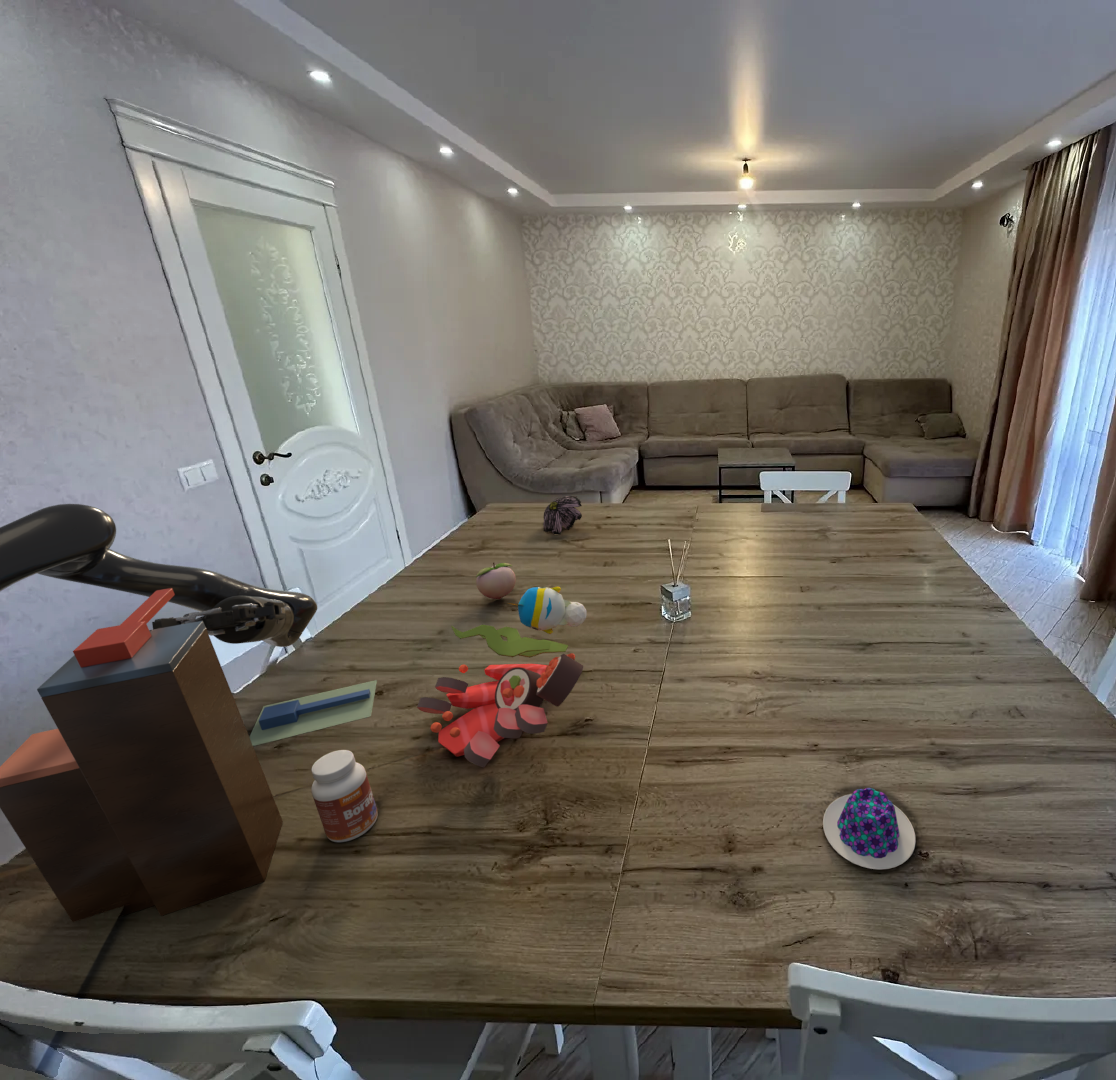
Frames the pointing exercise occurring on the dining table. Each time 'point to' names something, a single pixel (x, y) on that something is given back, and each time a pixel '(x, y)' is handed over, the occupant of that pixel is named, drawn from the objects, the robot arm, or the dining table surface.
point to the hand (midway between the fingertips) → (198, 620)
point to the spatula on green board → (318, 714)
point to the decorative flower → (561, 514)
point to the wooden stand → (142, 783)
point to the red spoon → (122, 634)
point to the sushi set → (509, 681)
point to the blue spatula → (304, 709)
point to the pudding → (869, 830)
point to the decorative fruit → (496, 581)
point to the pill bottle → (343, 796)
